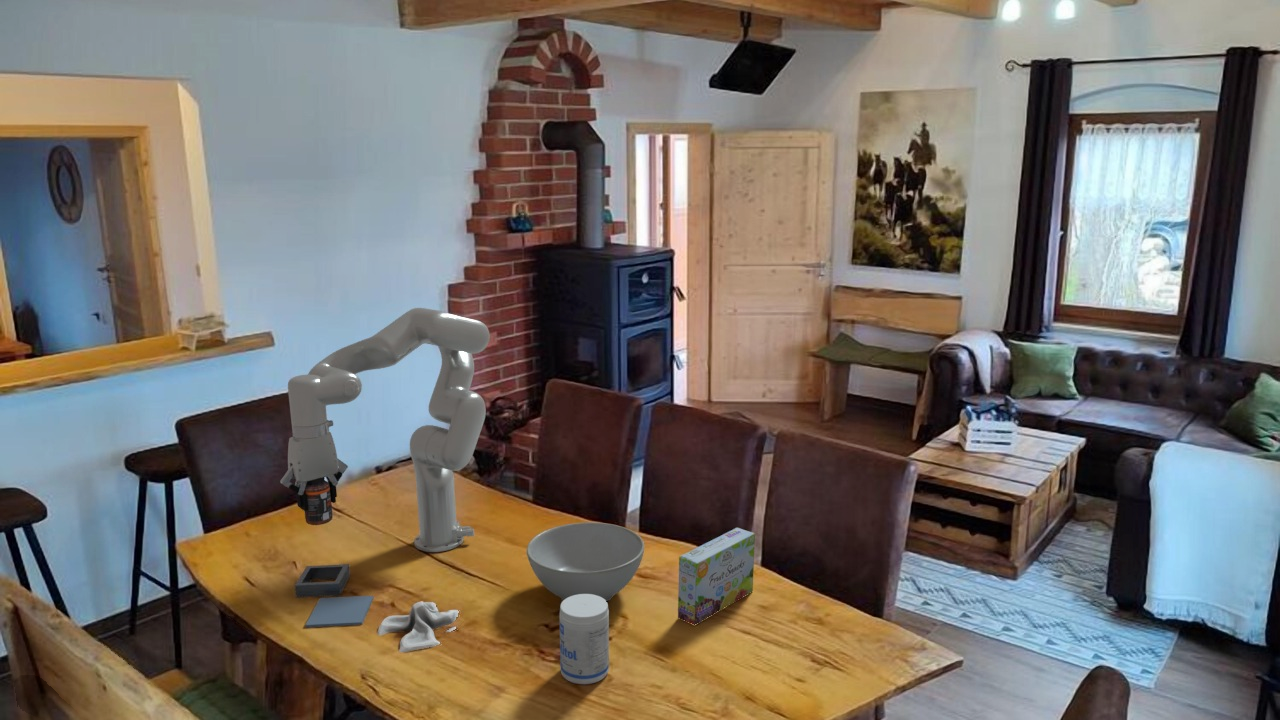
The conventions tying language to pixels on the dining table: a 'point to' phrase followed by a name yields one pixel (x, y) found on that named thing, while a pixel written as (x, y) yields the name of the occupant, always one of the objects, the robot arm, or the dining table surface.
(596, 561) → the decorative bowl
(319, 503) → the supplement bottle
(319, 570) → the collar
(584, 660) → the supplement tub
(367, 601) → the board
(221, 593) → the dining table surface
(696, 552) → the snack box
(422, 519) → the robot arm
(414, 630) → the cloth
